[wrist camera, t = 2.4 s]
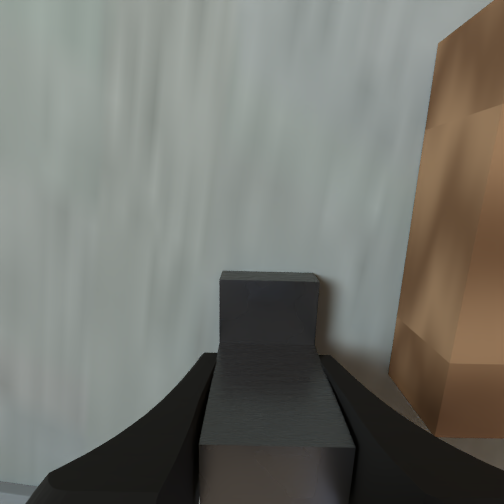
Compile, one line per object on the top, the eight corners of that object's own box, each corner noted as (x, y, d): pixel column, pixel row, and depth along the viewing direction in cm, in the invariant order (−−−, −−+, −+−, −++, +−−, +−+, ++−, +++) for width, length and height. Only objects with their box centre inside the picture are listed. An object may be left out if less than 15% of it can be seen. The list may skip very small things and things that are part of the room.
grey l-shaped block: (305, 376, 14) (346, 519, 8) (222, 374, 13) (199, 517, 8) (313, 273, 12) (368, 349, 7) (222, 270, 12) (196, 345, 6)
